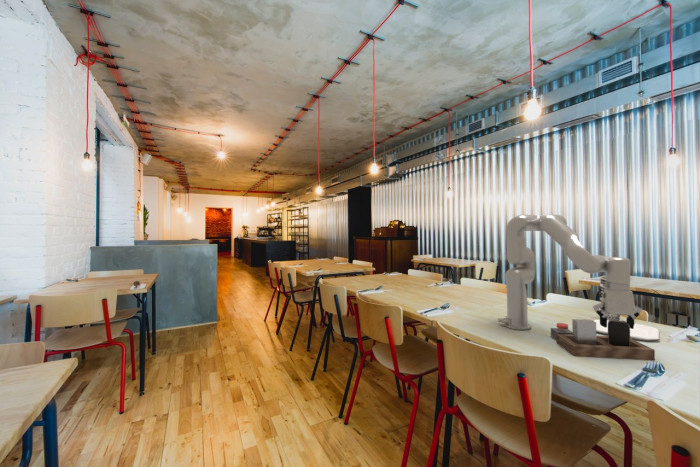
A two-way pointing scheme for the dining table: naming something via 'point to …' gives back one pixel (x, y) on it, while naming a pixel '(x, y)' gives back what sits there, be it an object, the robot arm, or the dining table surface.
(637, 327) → the plate
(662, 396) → the dining table surface
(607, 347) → the wooden sorting tray
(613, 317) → the decorative candle
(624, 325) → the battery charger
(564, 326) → the button
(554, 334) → the button housing
